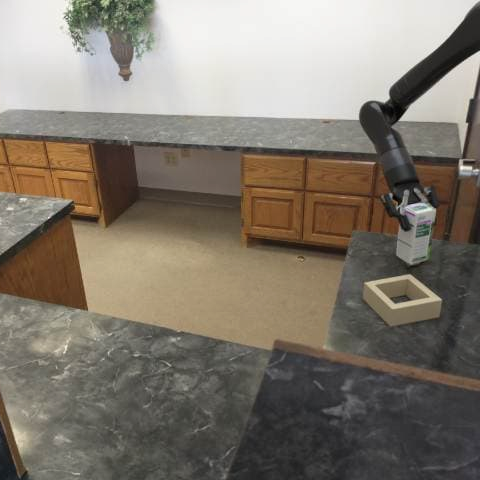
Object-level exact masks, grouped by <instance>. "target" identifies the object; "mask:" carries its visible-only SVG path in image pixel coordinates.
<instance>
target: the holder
mask: <svg viewBox="0 0 480 480" xmlns="http://www.w3.org/2000/svg"><path fill="white" fill-rule="evenodd" d="M402 296H406V297H407V299H410V300H408V301H403V302H398V303H395V302H394V301H393V300H391V299H393V298H399V297H402ZM362 300H363V301H364V302H365V303H366V304H367V305H368V306H369V307H370V308H371V309H373V311H374V312H375V313H376V314H377V315H378V316H379V317H380V318H381V319H382V320H383V321H384V322H385V323H386V324H387V325H388V326H389V327H390V328H391V327H397V326H400V325H408V324H412V323H418V322H422V321H427V320H432V319H438V318H440V316H441V309H442V304H443V299H442V298H441V297H440V296H438V295H437V294H435V293H434V292H433V291H432V290H430V289H429V288H428V287H427V286H426V285H425V284H423V283H422V282H421V281H419V280H418V279H417V278H415V277H414V276H413V275H412V274H410V273H409V274H404V275H398V276H397V275H396V276H392V277H385V278H382V279H377V280H371V281H366V282H364V283H363V293H362Z"/></svg>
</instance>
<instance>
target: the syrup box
mask: <svg viewBox="0 0 480 480" xmlns="http://www.w3.org/2000/svg"><path fill="white" fill-rule="evenodd" d="M404 209H405V215H406V216H407V218H408V221H409V224H410V226H411V230H409V231H407V232H404V230H402V229H401V226H400V224H399V223H398V233H397V242H396V251H395V256H397V257H398V258H399V259H401V260H402V261H404V262H405V263H406V262H407V263H409V264H410V265H411V264H414V263H418V262H422V261H424V262H426V261H429V260H430V257H431V250H432V244H433V243H432V242H433V234H434V229H435V226H434V222H435V217H436V214H437V208H436V209H435V208H433V207H431V206H430V205H427V204H425V203H422V201H420V202H419V203H415V204H410V205H407V207H404ZM407 263H406V264H407Z"/></svg>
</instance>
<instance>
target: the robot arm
mask: <svg viewBox="0 0 480 480" xmlns="http://www.w3.org/2000/svg"><path fill="white" fill-rule="evenodd" d="M479 52H480V0H479V1H478V2H476V3H475V4H474V5H473V6H472V7H471V8H470V10H468V11H467V13H466V14H465V16H464V18H463V20H462V21H461V22H460V23H459V24H458V26H456V29H454V30H453V32H451V34H450V35H449V37H447V39H445V40H444V41H443V42H442V43H441V44H439V46H438V47H437V48H436V49H434V50H433V51H432V52H430V54H429V55H427V56H426V57H424V58H423V59H421V60H420V61H419V62H418V63H416V64H414V66H413V67H411V68H410V69H409V70H408V71H406V72H405V74H403V75H402V76H401V77H400V78H399V79H397V81H395V82H394V83H393V84H392V85H391V86H390V87H389V89H388V96H389V97H388V100H386V101H380V100H376V99H375V100H373V99H372V100H368V101H366V102H364V103H363V104H362V105H361V106H360V107H359V112H358V121H359V123H360V126H361V129H362V130H363V131H364V133H365V134H366V136H367V137H368V139H369V141H370V142H371V143H372V145H373V146H374V150H375V152H376V155H377V158H378V161H379V166H380V169H381V172H382V174H383V177H384V180H385V183H386V186H387V189H388V190H389V191H390V193H388V192H385V193H383V195H382V196H380V198H379V199H380V202H381V204H382V206H383V208H384V210H385V212H386V214H387V216H388V218H395V219H396V220H397V221H398V225H399V224H400V226H401V229H402V230H404V232H407V231H409V230H411V226H410V224H409V221H408V218H407V216H406V215H405V209H404V207H407V205H410V204H415V203H419V202H422V203H425V204H427V205H430V206H431V207H433V208H435V209H436V210H437V209H439V207H440V202H439V198H438V193H437V191H436V187H435V186H434V185H430V186H429V187H427V186H426V187H424V186H423V185H421V183H420V176H419V174H418V171H417V169H416V166H415V164H414V161H413V158H412V156H411V154H410V152H409V151H408V148H407V146H406V142H405V140H404V138H403V136H402V134H401V132H400V131H398V130H397V129H395V128H393V126H395V125H397V123H398V122H399V121H401V119H402V118H403V116H404V115H405V114H406V112H407V111H408V110H409V109H410V107H411V105H413V104H414V103H415V102H417V101H418V100H419V99H420V98H422V96H424V95H425V94H427V93H428V92H429V91H430V90H431V89H433V87H434V86H436V85H437V84H438V83H439V82H440V81H441V80H442V79H444V78H445V77H446V76H447V75H448V74H449V73H450V72H451V71H453V70H454V69H456V68H457V67H458V66H459V65H461V64H462V63H463V62H465V61H466V60H468V59H469V58H471V57H472V56H474V55H475V54H477V53H479ZM423 194H424V195H423ZM393 200H394V201H395V202H396V204H394V201H393ZM437 223H438V220H437V217H436V216H435V222H434V227H436V226H437Z"/></svg>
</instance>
